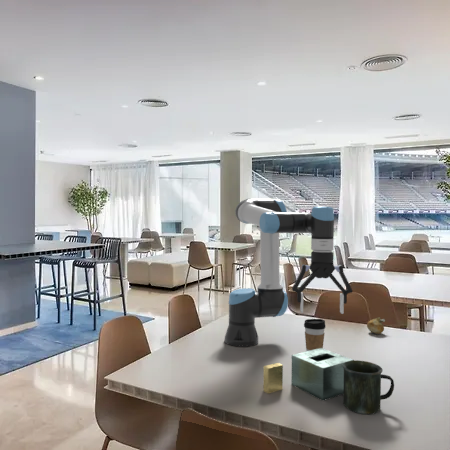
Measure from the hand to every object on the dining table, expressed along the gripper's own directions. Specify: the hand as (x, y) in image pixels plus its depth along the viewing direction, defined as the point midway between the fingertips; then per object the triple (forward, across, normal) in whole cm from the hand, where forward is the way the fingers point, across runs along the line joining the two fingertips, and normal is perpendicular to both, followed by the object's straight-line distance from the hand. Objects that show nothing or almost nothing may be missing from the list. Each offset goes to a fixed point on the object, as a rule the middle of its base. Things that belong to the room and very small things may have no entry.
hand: (321, 312), depth 139 cm
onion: (+23, +35, +60) cm, 73 cm away
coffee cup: (+23, 0, +22) cm, 32 cm away
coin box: (+23, -1, -8) cm, 24 cm away
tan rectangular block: (+23, -17, -11) cm, 31 cm away
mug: (+23, +11, -20) cm, 33 cm away
